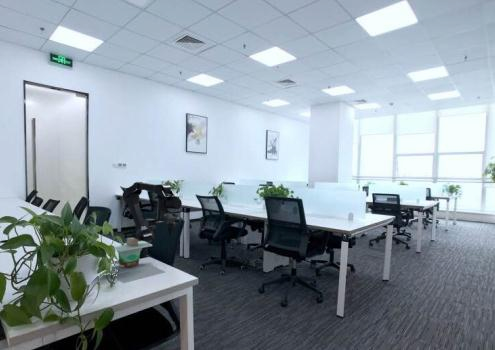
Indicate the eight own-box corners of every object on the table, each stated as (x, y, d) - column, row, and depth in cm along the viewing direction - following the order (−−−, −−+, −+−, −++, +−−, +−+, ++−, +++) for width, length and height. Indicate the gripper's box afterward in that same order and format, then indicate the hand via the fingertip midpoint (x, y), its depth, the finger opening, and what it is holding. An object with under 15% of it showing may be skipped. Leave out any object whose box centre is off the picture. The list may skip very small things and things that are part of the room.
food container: (123, 271, 131) (123, 250, 131) (116, 268, 135) (117, 247, 135) (146, 265, 141) (147, 245, 141) (139, 262, 145) (140, 243, 145)
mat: (111, 275, 126) (111, 274, 126) (152, 266, 140) (152, 265, 140) (123, 284, 117) (123, 283, 117) (165, 272, 132) (166, 272, 132)
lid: (111, 247, 136) (111, 239, 136) (142, 242, 148) (143, 235, 148) (120, 251, 129) (120, 243, 129) (152, 246, 141) (152, 238, 141)
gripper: (154, 210, 135) (153, 242, 136) (186, 208, 149) (185, 237, 149) (143, 208, 143) (142, 238, 143) (175, 206, 157) (174, 233, 157)
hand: (162, 237), depth 148 cm, fingers open, 9 cm apart
